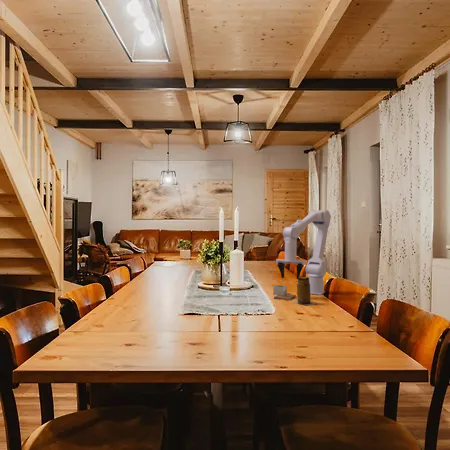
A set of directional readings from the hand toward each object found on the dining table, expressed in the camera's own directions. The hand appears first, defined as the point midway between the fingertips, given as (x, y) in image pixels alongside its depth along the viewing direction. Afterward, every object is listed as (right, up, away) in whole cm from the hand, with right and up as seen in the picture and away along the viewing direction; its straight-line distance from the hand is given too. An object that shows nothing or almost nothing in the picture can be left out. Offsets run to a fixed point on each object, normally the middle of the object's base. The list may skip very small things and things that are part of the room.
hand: (290, 278), depth 225 cm
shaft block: (-3, -10, 0) cm, 10 cm away
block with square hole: (-4, -9, +11) cm, 15 cm away
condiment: (+5, -10, -14) cm, 18 cm away
